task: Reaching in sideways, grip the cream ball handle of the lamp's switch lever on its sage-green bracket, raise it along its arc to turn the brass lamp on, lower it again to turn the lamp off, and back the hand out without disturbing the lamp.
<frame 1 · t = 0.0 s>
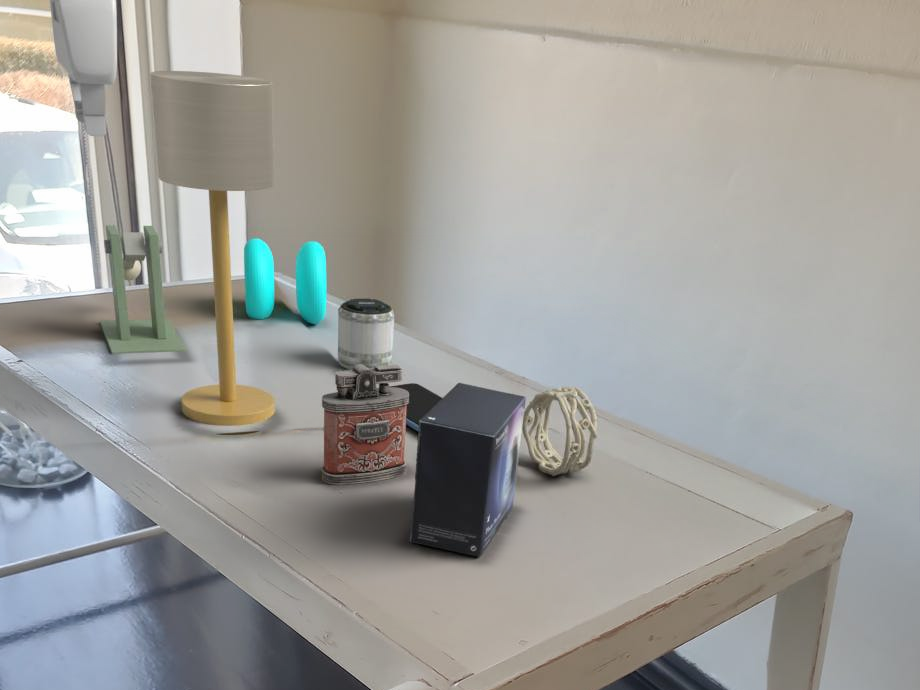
hand: (90, 128, 98), 24 cm above the table, tool pointing down, fingers open, 8 cm apart
smartphone: (426, 416, 106), on the table
lamp: (229, 418, 101), on the table
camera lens: (364, 373, 117), on the table
switch bracket: (142, 345, 118), on the table
lighter: (364, 476, 92), on the table
bracelet: (553, 472, 97), on the table
lamp switch: (129, 257, 117), point 9 cm above the table, hinge at -25.0°
donuts: (286, 322, 131), on the table
small box: (464, 528, 85), on the table
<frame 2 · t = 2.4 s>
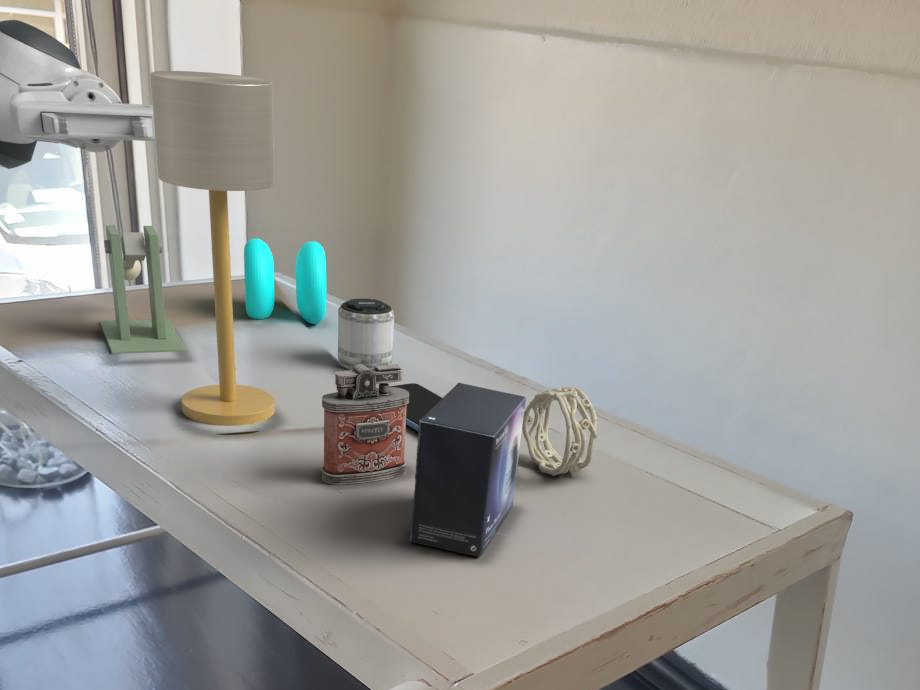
hand: (101, 129, 125), 20 cm above the table, tool horizontal, fingers open, 8 cm apart
nothing on the table moved.
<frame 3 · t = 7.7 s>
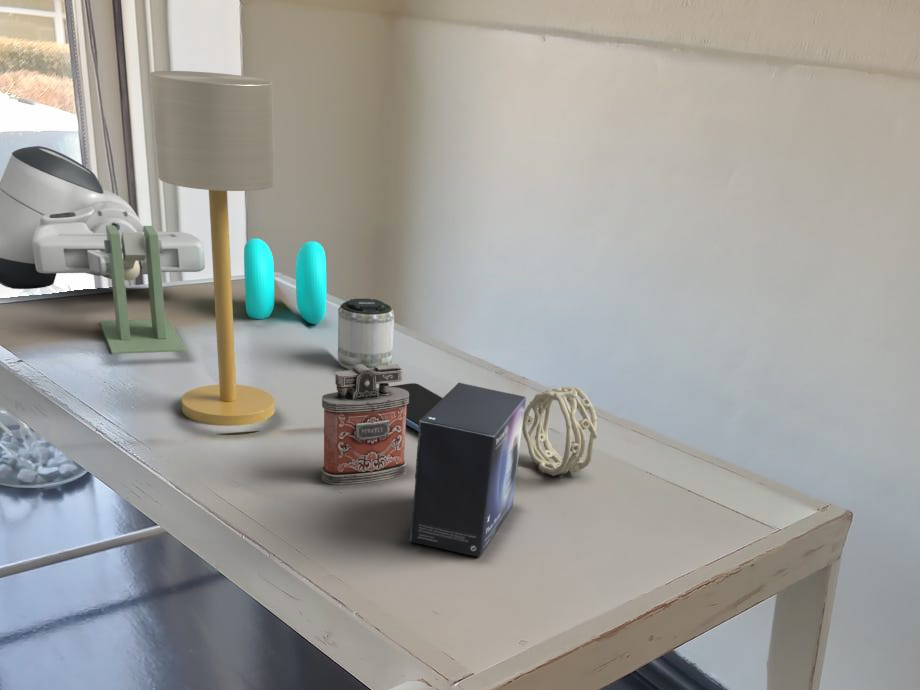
hand: (127, 267, 121), 7 cm above the table, tool horizontal, fingers closed on lamp switch, 3 cm apart
lamp switch: (129, 257, 117), point 9 cm above the table, hinge at -25.0°, touching gripper
everything else where it was.
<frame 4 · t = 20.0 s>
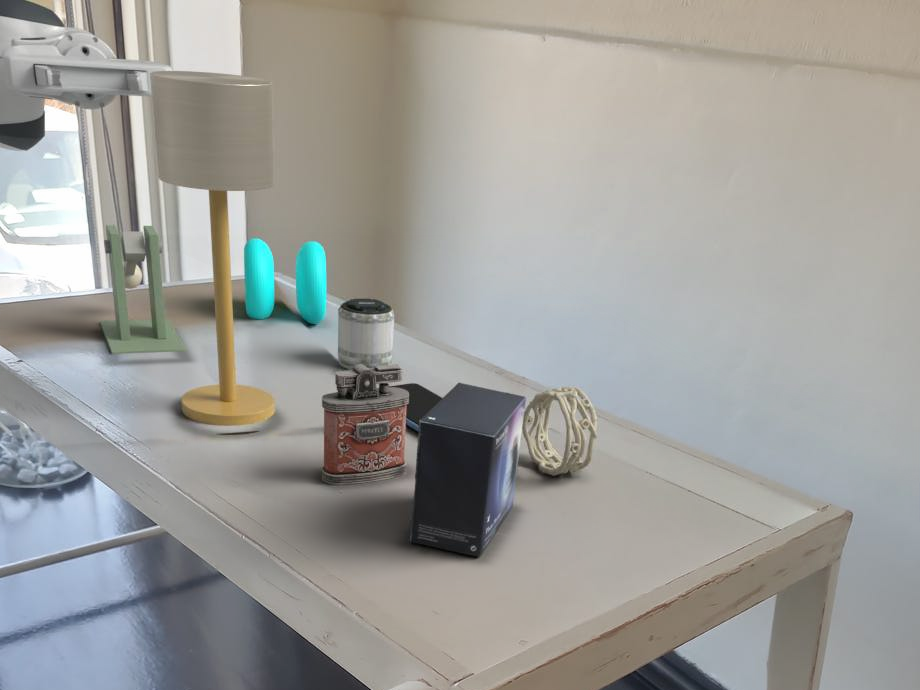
hand: (95, 81, 123), 25 cm above the table, tool horizontal, fingers open, 8 cm apart
lamp switch: (130, 261, 117), point 8 cm above the table, hinge at -30.6°
everything else where it was.
at the end: lamp switch reached +20° during the clip, -31° at the end; lamp switch at -31° (first picture: -25°); lamp moved 0.0 cm from its start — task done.
